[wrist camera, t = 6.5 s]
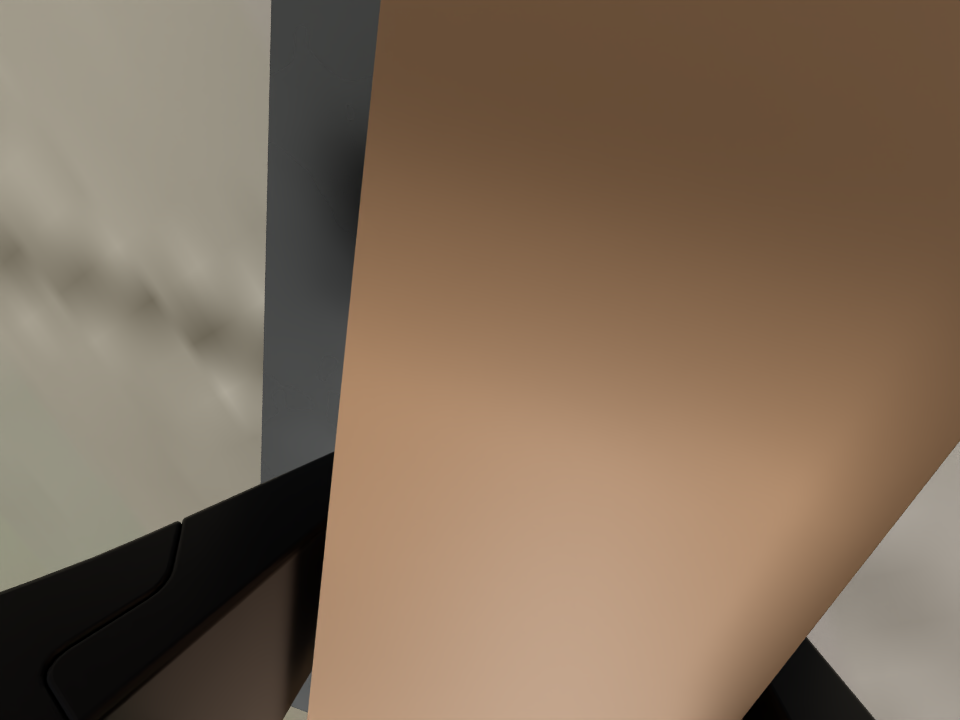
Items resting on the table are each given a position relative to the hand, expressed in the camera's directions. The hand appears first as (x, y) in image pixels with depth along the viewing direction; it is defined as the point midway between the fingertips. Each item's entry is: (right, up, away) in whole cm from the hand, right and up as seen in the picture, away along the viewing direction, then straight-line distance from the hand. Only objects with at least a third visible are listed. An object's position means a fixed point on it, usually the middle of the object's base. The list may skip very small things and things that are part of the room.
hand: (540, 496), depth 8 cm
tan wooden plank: (+1, +1, +3) cm, 3 cm away
